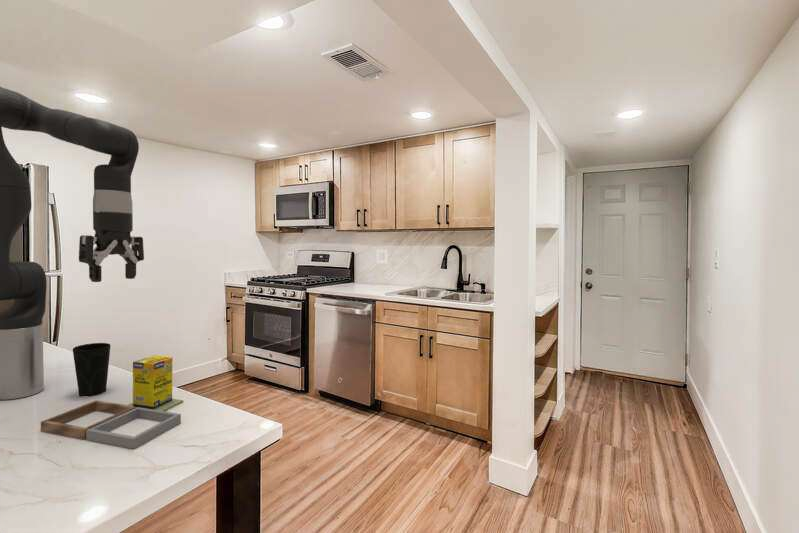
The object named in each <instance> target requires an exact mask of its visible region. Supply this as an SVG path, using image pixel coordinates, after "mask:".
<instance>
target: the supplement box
mask: <svg viewBox="0 0 799 533" xmlns="http://www.w3.org/2000/svg"><path fill="white" fill-rule="evenodd" d="M172 399H173V357H170V356H164V355H157V354H154V355H151V356H148V357H144V358H141V359H138V360H134V361H132V403H133V406H134V407H140V408H146V409H155V408H157V407H159V406H161V405H163V404H165V403H167V402H170V401H172Z"/></svg>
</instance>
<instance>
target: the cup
mask: <svg viewBox="0 0 799 533" xmlns="http://www.w3.org/2000/svg"><path fill="white" fill-rule="evenodd" d="M111 347H112V346H111V344H110V343H108V342H94V343H85V344H81V345H76V346H75V347H73V348H72V355H73V356H72V357H73V361H74V368H75V369H74V370H75V376H76V382H77V389H78V390H77V391H78V396H79V395H80V397H83V396H88V397H94V395H95V396H98V394H99V395H101V393H102V394H104V393H105V392H106V391H107V384H108V376H109V365H110V355H111V354H110V353H111ZM103 392H104V393H103Z"/></svg>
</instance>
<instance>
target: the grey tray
mask: <svg viewBox="0 0 799 533" xmlns="http://www.w3.org/2000/svg"><path fill="white" fill-rule="evenodd" d="M181 415H182V414H181V413H177V412H169V411H159V410H153V409H146V408H140V407H137V408H135V409H133V410H130V411H128V412H126V413H124V414H122V415H119V416H117V417H115V418H113V419H110V420H108V421H106V422H104V423H101V424H99V425H97V426H95V427H93V428H90V429H88V430H86V440H85V441H89V442H94V443H95V442H96V443H99V444H104V443H105V445H109V444H111V445H110V446H114V445H115V446H116V447H120V448H125V449H132V450H135V449H137V448H139V447H140V446H142V445H144V444H145V443H147V442H150V441H151V440H152V439H154V438H156V437H158V436H160V435H162V434H164V433H165V432H167V431H169V430H170V429H172V428H174V427H176V426H177V425H180V424H181V423H182V416H181ZM136 419H144V420H148V421H149V420H150V421H154V420H156V422H158V424H155V425H153V426H151V427H149V428H147V429H146V430H144V431H142V432H140V433H138V434H136V435H133V436H132V435H127V434H123V433H117V432H111V431H113V430H115V429H117V428H119V427H121V426H124V425H126V424H128V423H129V422H132V421H134V420H136ZM160 421H161V422H160ZM115 446H114V447H115Z"/></svg>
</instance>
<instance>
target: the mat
mask: <svg viewBox="0 0 799 533" xmlns="http://www.w3.org/2000/svg"><path fill="white" fill-rule="evenodd" d="M182 403H184V400H183V399H177V398H172V401H170V402H167V403H165V404H163V405H161V406H159V407H157V408H155V409H153V410H159V411H165V412H167V411H169V410H170V408H171V409H173V408H175V407H177V406H178V405H180V404H182ZM127 405H128V406H133V402H131V403H130V404H127ZM176 405H177V406H176ZM174 406H175V407H174ZM172 407H173V408H172ZM136 408H137V407H136ZM168 409H169V410H168ZM166 410H167V411H166Z"/></svg>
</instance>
